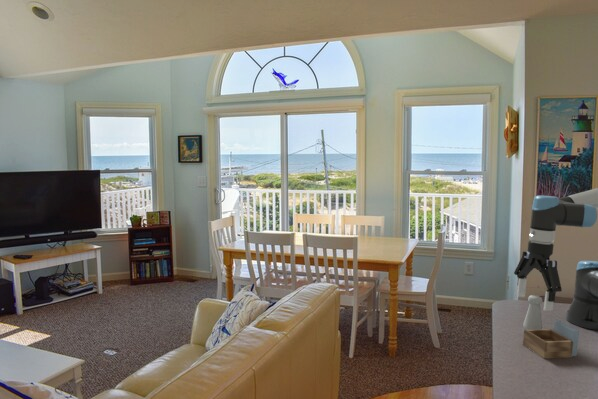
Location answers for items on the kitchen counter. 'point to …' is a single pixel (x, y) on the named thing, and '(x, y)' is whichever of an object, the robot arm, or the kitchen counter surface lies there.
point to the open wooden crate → (548, 343)
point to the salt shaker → (533, 314)
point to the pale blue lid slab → (568, 334)
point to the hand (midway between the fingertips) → (533, 303)
